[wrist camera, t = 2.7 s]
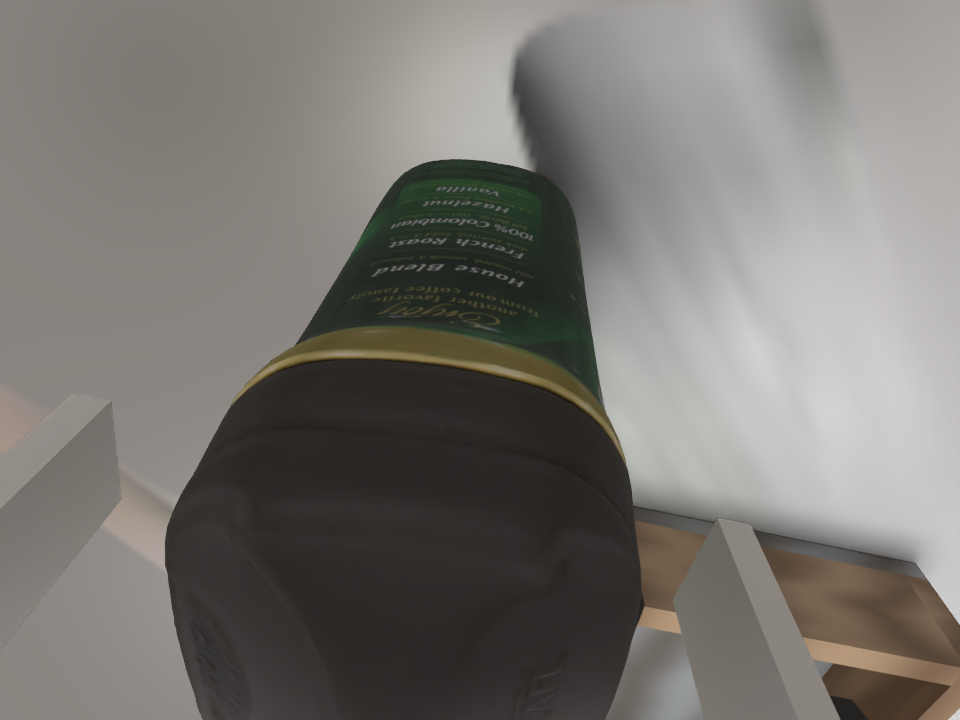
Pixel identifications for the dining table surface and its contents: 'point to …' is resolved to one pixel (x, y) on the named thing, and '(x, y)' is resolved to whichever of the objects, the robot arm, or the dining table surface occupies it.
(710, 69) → the dining table surface
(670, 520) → the walnut crate
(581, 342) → the coffee jar
